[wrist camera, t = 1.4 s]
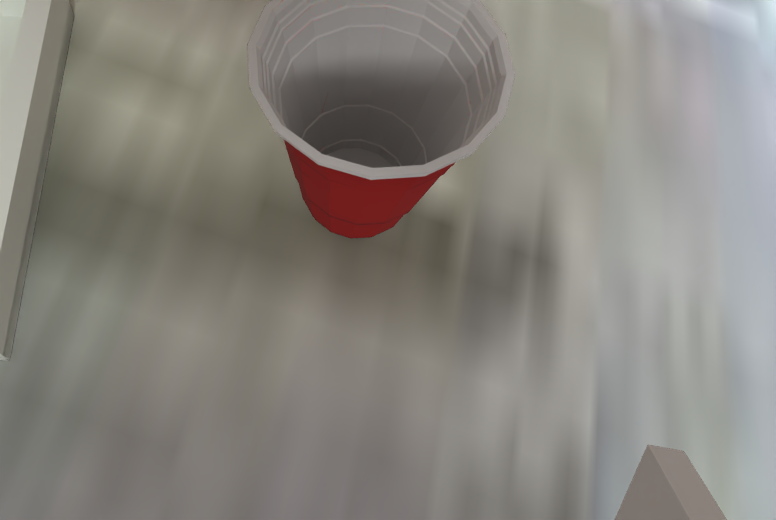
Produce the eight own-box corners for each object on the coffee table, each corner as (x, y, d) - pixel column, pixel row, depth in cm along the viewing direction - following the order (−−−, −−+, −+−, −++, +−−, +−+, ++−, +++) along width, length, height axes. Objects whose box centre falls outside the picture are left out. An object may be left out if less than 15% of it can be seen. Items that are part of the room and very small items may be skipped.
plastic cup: (313, 75, 41) (329, -92, 30) (477, 161, 41) (553, 23, 30) (213, 221, 37) (189, 87, 26) (394, 318, 37) (448, 224, 26)
